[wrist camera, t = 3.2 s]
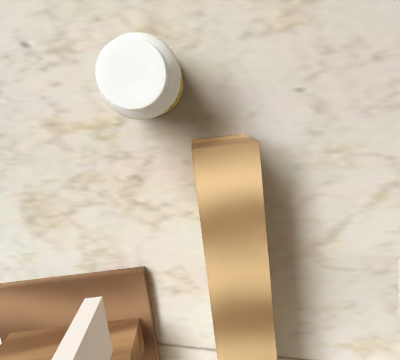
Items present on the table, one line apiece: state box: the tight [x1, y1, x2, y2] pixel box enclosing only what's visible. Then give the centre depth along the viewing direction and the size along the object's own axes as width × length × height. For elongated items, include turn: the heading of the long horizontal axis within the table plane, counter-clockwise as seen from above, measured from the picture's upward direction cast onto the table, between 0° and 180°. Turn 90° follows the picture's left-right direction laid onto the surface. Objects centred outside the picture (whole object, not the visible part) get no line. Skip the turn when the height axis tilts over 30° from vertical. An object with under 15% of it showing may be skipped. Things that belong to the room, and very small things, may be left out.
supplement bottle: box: [95, 32, 184, 120], centre depth 24 cm, size 5×5×10 cm
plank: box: [192, 134, 277, 360], centre depth 29 cm, size 26×4×7 cm, turn 7°
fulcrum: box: [0, 266, 160, 360], centre depth 30 cm, size 12×14×6 cm
